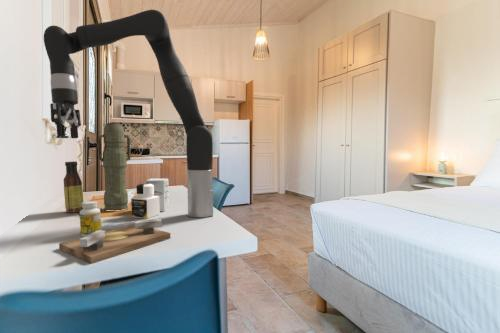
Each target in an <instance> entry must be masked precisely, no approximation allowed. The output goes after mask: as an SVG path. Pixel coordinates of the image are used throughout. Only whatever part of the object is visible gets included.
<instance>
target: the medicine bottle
mask: <svg viewBox="0 0 500 333" xmlns="http://www.w3.org/2000/svg"><path fill="white" fill-rule="evenodd" d="M153 195H154V185H153V184H146V183H140V184H137V185H136V196H134V197H131V198H130V199H131V217H132V218H137V219H145V220H148V219H150V218H153V217H157V216H159V215H160V214H161V213H160V212H161V211H160V208H159V196H153Z"/></svg>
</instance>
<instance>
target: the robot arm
mask: <svg viewBox="0 0 500 333" xmlns="http://www.w3.org/2000/svg"><path fill="white" fill-rule="evenodd" d="M134 36H135V37H136V36H144V38H145V39H146V40H147V42H148V44H149V46H150V48H151V50H152V51H153V54H154V56H155V58H156V61H157V64H158V70H159V74H160V77H161V80H162V83H163V85H164V88H165V90H166V93H167V96H168V97H169V99H170V101H171V103H172V105H173V107H174V108H175V110H176V112H177V114H178V116H179V117H180V120H181V122H182V125H183V128H184V131H185V134H186V167H187V170H186V171H187V216H188V217H190V218H207V217H213V216H214V189H213V187H214V186H213V160H214V159H213V154H214V152H213V148H214V147H213V144H214V142H213V134H212V132H211V130H210V128H209V129H208V127H207V126H206V123H205V122H204V119H203V117H202V115H201V112H200V110H199V107H198V102H197V99H196V95H195V92H194V91H195V90H194V88H193V85H192V83H191V80H190V78H189V75H188V73H187V71H186V69H185V67H184V64H183V63H182V62H181V60H180V57H179V56H178V54H177V52H176V50H175V48H174V44H173V41H172V37H171V34H170V29H169V25H168V21H167V19H166V17H165V15H164V14H163V13H162V12H160V11H159V10H157V9H146V10H144V11H140V12H137V13H135V14H132V15H128V16H125V17H121V18H118V19H113V20H110V21H104V22H98V23H91V24H83V25H79V26H77V27H76V28H75V31H74V32H69V33H68V32H67V31H66V30H65V29H63V28H62V27H61V26H58V25H49V26H47V28H46V29H45V30H44V33H43V44H44V47H45V52H46V53H47V54H46V55H47V58H48V60H49V69H50V71H49V72H50V94H51V102H52V103H50V121H51V122H52V123H54V125H56V126H55V127H56V134H57V135H56V136H57V137H61V138H63V137H65V136H66V126H65V123H68V125H69V127H70V128H69V130H70V139H79V130H78V128H79V127H81V126H82V120H81V114H80V112H81V111H80V109H75V105H76V106H77V105H78V104H79V96H78V85H77V79H76V72H75V64H74V61H73V59H72V58H71V56H70V55H72V54H76V53H79V52H81V51H84V50H86V49H89V48H96V47H103V46H108V45H111V44H113V43H116V42H118V41H121V40H123V39H125V38H130V37H134Z"/></svg>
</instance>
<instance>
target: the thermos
mask: <svg viewBox="0 0 500 333" xmlns="http://www.w3.org/2000/svg"><path fill="white" fill-rule="evenodd" d="M102 138H103V143H104V146H103V151H102ZM125 138H126V144H127V145H126V146H127V148H125ZM125 149H127V151H126V150H125ZM97 150H98V152H97V154H98V160H99V161H100V162H102V167H103V169H104V193H103V204H104V211H105V210H122V209H126V208H129V207H128V203H129V196H128V194H129V193H128V191H127V172H126V171H127V170H126V168H127V166H128V164H127V162H128V161H131V156H132V154H131V137H130V136H129V135H127V134H125V130H124V127H123V124H121V123H119V122H108V123H105V125H104V128H103V134H100V135H99V137H98V138H97ZM126 210H127V209H126Z"/></svg>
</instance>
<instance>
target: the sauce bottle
mask: <svg viewBox="0 0 500 333" xmlns="http://www.w3.org/2000/svg"><path fill="white" fill-rule="evenodd" d="M64 166H65V169H66V170H65V175H64V178H63V193H64V194H63V195H64V203H65V204H64V205H65V206H64V207H65V212H66V213H68V214H69V213H70V214H75V213H77V214H78V213H80V211H81V210H82V209H83V208H82V203H83V202H84V192H83V181H82V179H81V177H80V174H79V172H78V161H65V162H64Z"/></svg>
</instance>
